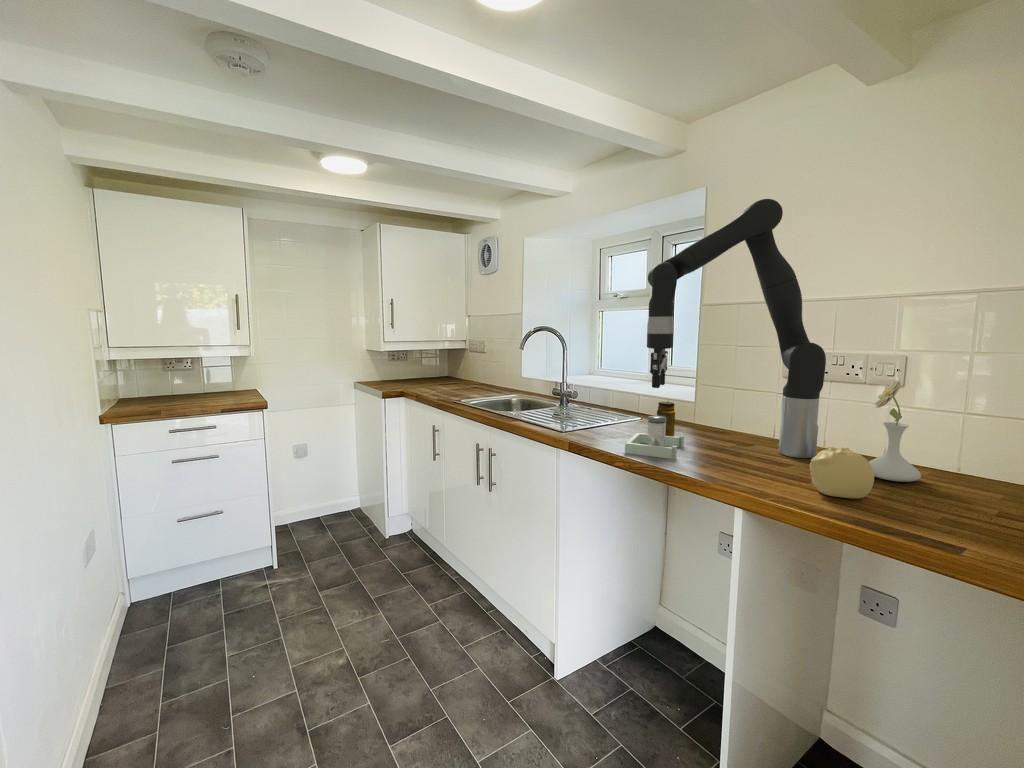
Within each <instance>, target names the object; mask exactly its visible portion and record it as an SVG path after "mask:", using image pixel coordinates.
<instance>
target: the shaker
mask: <svg viewBox="0 0 1024 768" xmlns="http://www.w3.org/2000/svg"><path fill="white" fill-rule="evenodd" d="M665 430H666V417H663V416H657V415H648V416H647V434H648V435H647V444H646V445H654V446H663V447H666V446H665Z"/></svg>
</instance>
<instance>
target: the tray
mask: <svg viewBox="0 0 1024 768" xmlns="http://www.w3.org/2000/svg"><path fill="white" fill-rule="evenodd" d="M647 435H648V433H641V432H640V433H639V432H637V433H635V434H634V435H632V437H631V438H629V439H628V440H627V441H626V442H625V443H624V454H629V455H630V454H631V455H638V456H647V457H653V458H662V459H672V460H677V453H678V448H682V449H683V448H684V447H685V444H684V442H685V441H684V440H685V435H679V436H678V437H673V436H665V447H663V446H654V445H647Z"/></svg>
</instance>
